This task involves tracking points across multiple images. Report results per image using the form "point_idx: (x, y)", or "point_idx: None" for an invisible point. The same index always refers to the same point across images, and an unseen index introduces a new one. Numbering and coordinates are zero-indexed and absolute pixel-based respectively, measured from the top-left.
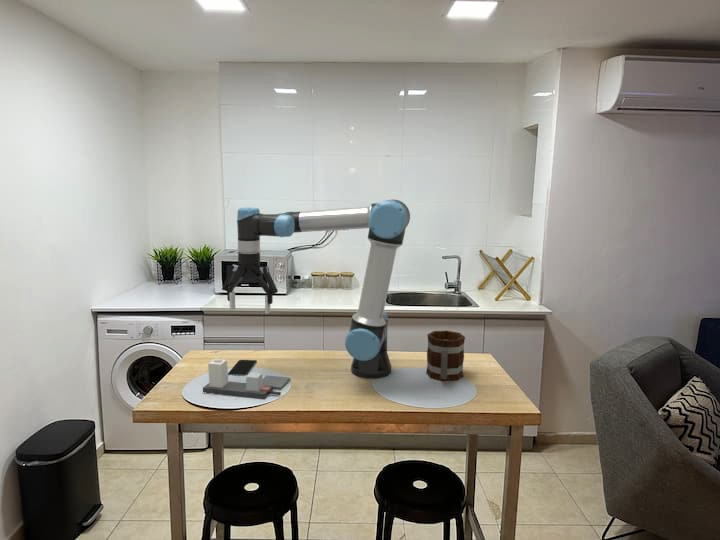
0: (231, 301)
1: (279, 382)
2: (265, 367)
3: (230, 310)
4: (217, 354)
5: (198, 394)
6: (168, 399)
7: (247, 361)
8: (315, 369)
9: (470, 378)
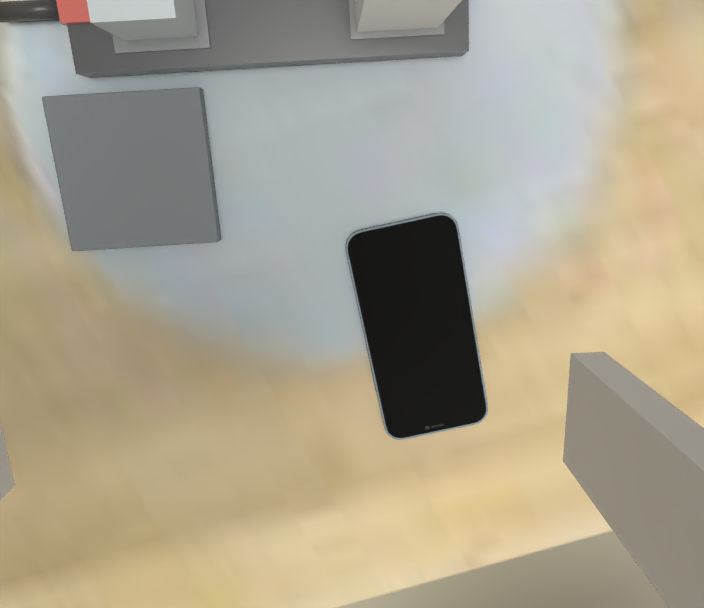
0: (653, 424)
1: (89, 164)
2: (304, 375)
3: (593, 352)
4: None
5: None
6: None
7: (433, 410)
8: (31, 427)
9: None
